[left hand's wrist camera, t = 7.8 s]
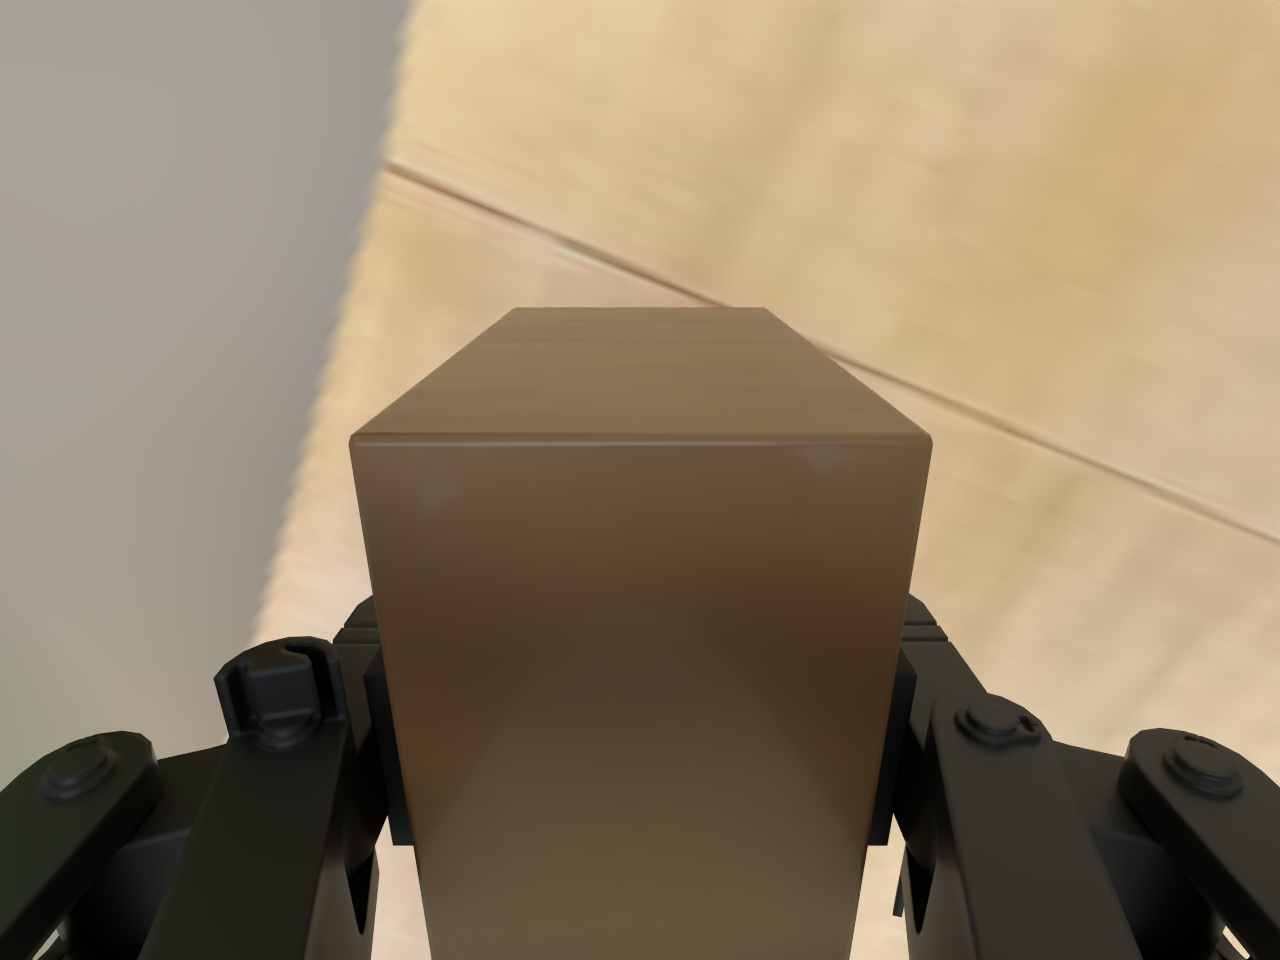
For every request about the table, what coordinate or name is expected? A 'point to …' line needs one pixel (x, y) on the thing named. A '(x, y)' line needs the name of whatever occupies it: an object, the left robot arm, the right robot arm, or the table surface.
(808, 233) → the table surface
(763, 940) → the bar
